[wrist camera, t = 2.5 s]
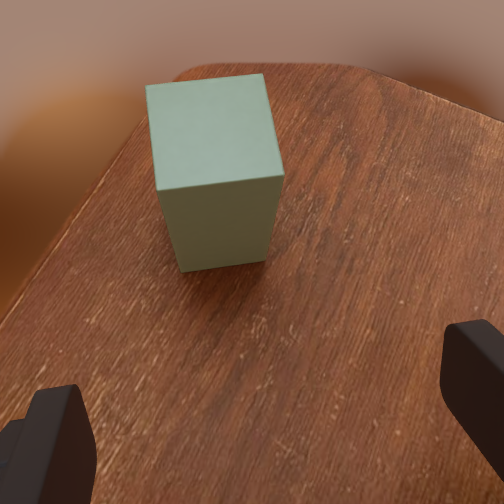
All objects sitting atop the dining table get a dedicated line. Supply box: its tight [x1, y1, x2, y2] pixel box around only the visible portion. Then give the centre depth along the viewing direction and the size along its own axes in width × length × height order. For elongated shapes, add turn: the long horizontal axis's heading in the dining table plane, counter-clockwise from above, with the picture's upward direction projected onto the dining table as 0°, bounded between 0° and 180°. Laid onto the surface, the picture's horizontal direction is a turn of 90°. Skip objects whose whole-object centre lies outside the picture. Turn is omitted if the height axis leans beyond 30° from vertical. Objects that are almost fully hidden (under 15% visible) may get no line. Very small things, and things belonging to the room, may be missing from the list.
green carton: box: [145, 74, 285, 273], centre depth 24 cm, size 5×5×10 cm
